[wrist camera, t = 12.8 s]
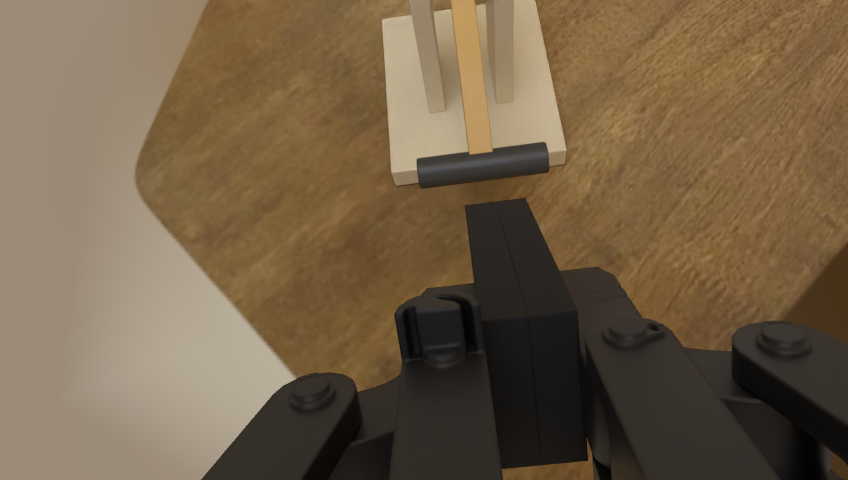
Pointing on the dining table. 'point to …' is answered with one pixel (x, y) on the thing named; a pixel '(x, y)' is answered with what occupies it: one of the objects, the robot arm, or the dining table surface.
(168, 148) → the dining table surface
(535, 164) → the latch lever
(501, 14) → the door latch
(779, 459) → the robot arm
